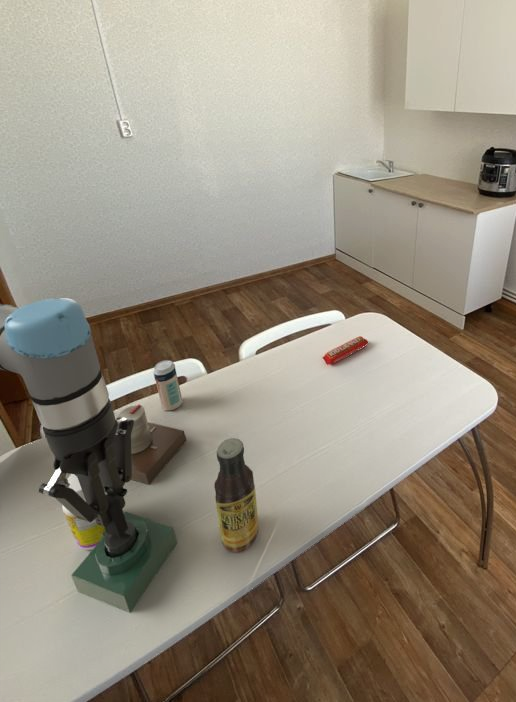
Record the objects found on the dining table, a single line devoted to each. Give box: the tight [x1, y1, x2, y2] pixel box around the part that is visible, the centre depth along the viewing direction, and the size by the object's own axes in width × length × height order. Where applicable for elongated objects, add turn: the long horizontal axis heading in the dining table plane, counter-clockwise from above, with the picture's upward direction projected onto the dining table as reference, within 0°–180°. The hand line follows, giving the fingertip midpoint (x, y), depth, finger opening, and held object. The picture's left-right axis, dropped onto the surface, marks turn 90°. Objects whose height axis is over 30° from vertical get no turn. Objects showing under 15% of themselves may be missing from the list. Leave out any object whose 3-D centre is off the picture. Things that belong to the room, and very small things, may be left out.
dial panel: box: [122, 421, 187, 486], centre depth 82 cm, size 14×11×3 cm
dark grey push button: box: [104, 521, 137, 557], centre depth 60 cm, size 4×4×2 cm
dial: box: [116, 403, 152, 454], centre depth 80 cm, size 5×5×8 cm
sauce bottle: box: [214, 437, 259, 553], centre depth 63 cm, size 7×6×20 cm
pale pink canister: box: [152, 359, 184, 411], centre depth 94 cm, size 5×5×12 cm
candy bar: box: [321, 335, 369, 366], centre depth 114 cm, size 16×4×3 cm, turn 131°
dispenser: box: [70, 511, 178, 613], centre depth 61 cm, size 10×10×6 cm
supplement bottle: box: [61, 474, 107, 551], centre depth 65 cm, size 7×7×13 cm
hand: (117, 530), depth 59 cm, fingers closed
